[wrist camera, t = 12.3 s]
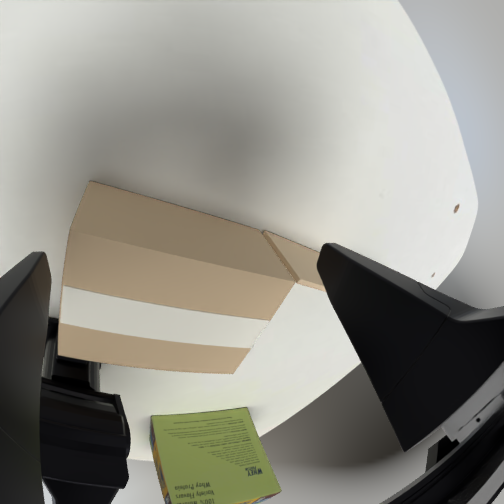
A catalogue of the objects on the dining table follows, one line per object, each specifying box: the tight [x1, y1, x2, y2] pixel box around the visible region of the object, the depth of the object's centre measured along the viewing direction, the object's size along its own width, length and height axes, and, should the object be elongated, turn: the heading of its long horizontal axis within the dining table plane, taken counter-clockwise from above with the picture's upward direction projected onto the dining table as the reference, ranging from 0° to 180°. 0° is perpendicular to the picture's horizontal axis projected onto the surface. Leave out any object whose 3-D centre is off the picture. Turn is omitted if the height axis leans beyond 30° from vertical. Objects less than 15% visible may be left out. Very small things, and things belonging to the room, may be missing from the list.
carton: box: [58, 181, 295, 374], centre depth 21 cm, size 10×14×7 cm
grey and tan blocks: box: [263, 231, 326, 292], centre depth 25 cm, size 15×1×11 cm, turn 58°
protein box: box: [150, 408, 282, 504], centre depth 36 cm, size 10×15×16 cm
